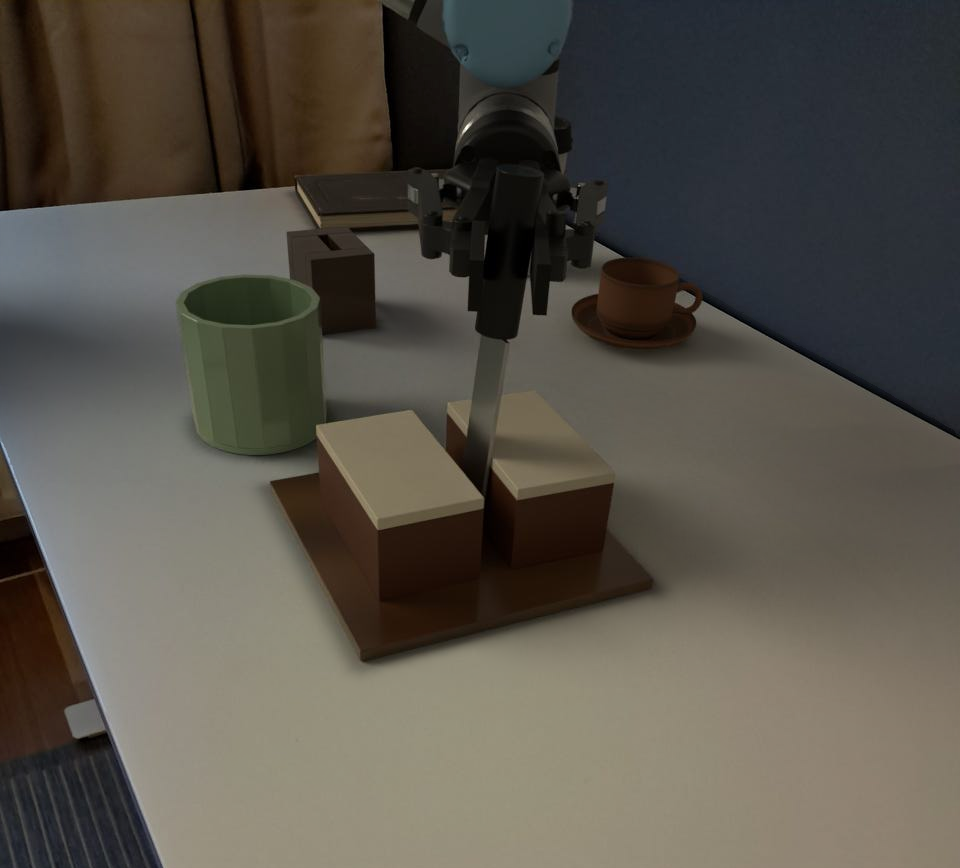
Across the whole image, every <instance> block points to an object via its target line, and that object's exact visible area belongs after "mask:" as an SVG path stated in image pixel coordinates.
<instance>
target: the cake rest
mask: <svg viewBox="0 0 960 868" xmlns="http://www.w3.org/2000/svg"><path fill="white" fill-rule="evenodd" d="M413 410H414V409H413ZM413 410H412V409H407V410H401V411H395V412H389V413H382V414H377V415H370V416H363V417H358V418H351V419H346V420H338V421H333V422H332V421H331V422H328V423H327V422H326V424H320V425H316V433H317V438H316V446H317V447H316V448H317V462H318V463H317V464H318V465H317V466H318V472H319V480H320V495H321V503H322V505H323V506H324V508H325V510H326V511H327V513H328V515H329V517H330V518H331V520H332V522H333V523H334V525H335V527H336V528H337V530H338V532H339V534H340V535H341V537H342V539H343V540H344V542H345V544H346V545H347V547H348V549H349V551H350V552H351V554H352V556H353V557H354V559H355V561H356V562H357V564H358V566H359V568H360V569H361V571H362V573H363V574H364V576H365V578H366V579H367V581H368V583H369V585H370V586H371V588H372V590H373V591H374V593H375V595H376V597H377V598H378V600H379V601H383V600H387V599H392V598H396V597H400V596H405V595H409V594H413V593H418V592H422V591H426V590H431V589H435V588H439V587H444V586H448V585H452V584H457V583H461V582H465V581H470V580H474V579H478V578H480V566H481V549H482V532H483V516H484V509H483V508H484V497H483V496H482V495H481V493H480V492H479V491H478V490H477V489H476V487H475V486H474V485H473V484H472V482H471V481H470V480H469V479H468V478H467V476H466V475H465V474H464V473H463V471H462V470H461V469H460V468H459V467H458V465H457V464H456V463H455V462H454V460H453V459H452V458H451V457H450V456H449V454H448V453H447V452H446V451H445V450H446V448H444V447H443V446H442V445H441V443H440V442H439V440H437V438H436V437H435V436H434V435H433V433H432V432H431V430H429V429H428V427H427V426H426V425H425V424H424V422H423V421H422V420H421V419H420V418H419V416H418V415H417V414H416V413H415V412H414V411H413Z"/></svg>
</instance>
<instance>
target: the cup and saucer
mask: <svg viewBox="0 0 960 868" xmlns="http://www.w3.org/2000/svg"><path fill="white" fill-rule="evenodd" d="M680 277H681V274H680V272H679V270H678V269H677V268H676V267H674V266H672V265H670V264H669V263H665V262H663V261H659V260H655V259H651V258H644V257H618V258H617V257H616V258H613V259H610V260H607V261H605V262H604V263H603V264H602V265H601V268H600V276H599V285H598V293H595V294H590V295H587V296H584V297H582V298H581V299H579V300H577V301H576V302H575V303H573V305H572V307H571V319H572V321H573V323H574V324H575V325H576V327H577V328H578V329H579V330H580V331H581V332H582V333H583V334H584V335H586V336H588V337H590V338H591V339H593V340H596V341H598V342H600V343H603V344H606V345H609V346H612V347H615V348H616V347H617V348H623V349H629V350H659V349H664V348H669V347H673V346H676V345H677V344H680V343H682V342H683V341H685V340H686V339H688V338H689V337H691V336H692V334H693V333H694V332H695V329H696V327H697V318H696V317H695V315H694V314H693V313H695V312H696V311H697V310H698V309H699V308H700V307H701V305H702V303H703V292H702V290H701V288H700V287H699V286H698V285H697V284H694V283H692V282H680ZM682 291H690V292H692V293H693V294H694V297H695V298H694V301H693V303H692V305H690V306H688V307H685V306H683V305H681V304H679V303H677V302H676V298H677V293H680V292H682Z"/></svg>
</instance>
